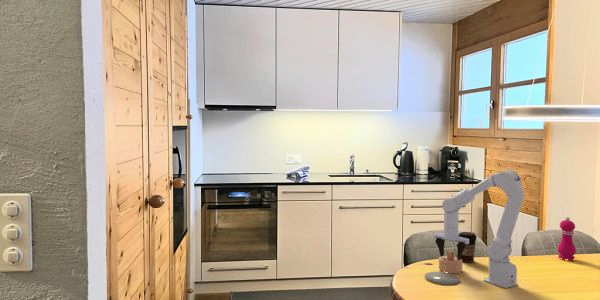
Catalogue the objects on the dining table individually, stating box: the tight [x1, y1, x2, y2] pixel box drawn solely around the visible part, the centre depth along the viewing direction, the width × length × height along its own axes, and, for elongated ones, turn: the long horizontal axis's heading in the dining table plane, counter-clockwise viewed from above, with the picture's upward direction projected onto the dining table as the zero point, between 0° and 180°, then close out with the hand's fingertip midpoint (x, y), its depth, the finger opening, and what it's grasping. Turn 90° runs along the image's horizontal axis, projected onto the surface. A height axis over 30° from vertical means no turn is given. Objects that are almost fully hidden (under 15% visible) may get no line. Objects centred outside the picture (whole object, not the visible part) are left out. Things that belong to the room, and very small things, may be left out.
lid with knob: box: [438, 250, 464, 275], centre depth 170 cm, size 10×10×8 cm
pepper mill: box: [557, 216, 577, 260], centre depth 187 cm, size 7×7×20 cm
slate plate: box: [424, 271, 460, 286], centre depth 159 cm, size 13×13×1 cm
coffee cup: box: [457, 231, 478, 263], centre depth 183 cm, size 9×8×13 cm
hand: (450, 257), depth 170 cm, fingers open, 7 cm apart
